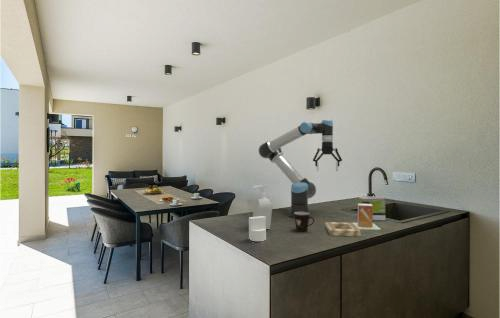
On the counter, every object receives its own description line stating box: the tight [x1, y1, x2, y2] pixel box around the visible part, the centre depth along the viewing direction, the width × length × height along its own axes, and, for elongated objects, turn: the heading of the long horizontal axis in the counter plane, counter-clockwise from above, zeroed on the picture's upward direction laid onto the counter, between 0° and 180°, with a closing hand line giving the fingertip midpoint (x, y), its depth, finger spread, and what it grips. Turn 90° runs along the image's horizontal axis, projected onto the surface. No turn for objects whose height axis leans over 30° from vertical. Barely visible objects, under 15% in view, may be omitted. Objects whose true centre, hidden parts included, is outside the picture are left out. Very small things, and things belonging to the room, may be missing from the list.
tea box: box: [357, 196, 386, 221], centre depth 193 cm, size 15×10×15 cm
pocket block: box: [324, 221, 362, 238], centre depth 163 cm, size 16×18×3 cm
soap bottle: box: [251, 185, 273, 230], centre depth 170 cm, size 12×10×26 cm
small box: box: [357, 203, 374, 227], centre depth 173 cm, size 8×6×13 cm
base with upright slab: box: [248, 216, 267, 241], centre depth 149 cm, size 9×9×12 cm
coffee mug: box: [294, 212, 315, 233], centre depth 165 cm, size 12×9×10 cm
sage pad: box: [352, 222, 381, 231], centre depth 174 cm, size 14×14×1 cm
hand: (327, 171), depth 204 cm, fingers open, 13 cm apart
